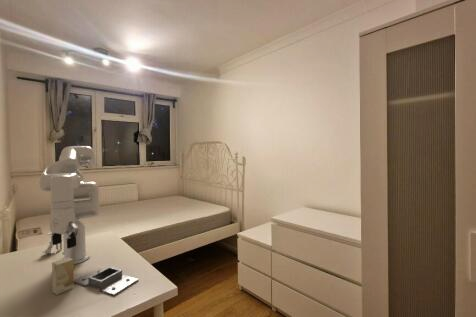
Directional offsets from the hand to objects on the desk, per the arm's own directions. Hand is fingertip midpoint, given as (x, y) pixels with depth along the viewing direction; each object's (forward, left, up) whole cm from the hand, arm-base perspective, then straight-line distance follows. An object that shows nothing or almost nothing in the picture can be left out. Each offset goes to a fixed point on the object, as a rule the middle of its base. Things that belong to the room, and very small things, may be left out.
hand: (64, 245), depth 96 cm
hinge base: (+10, +10, -19) cm, 24 cm away
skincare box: (-1, -1, -19) cm, 19 cm away
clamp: (-48, +19, -19) cm, 55 cm away
